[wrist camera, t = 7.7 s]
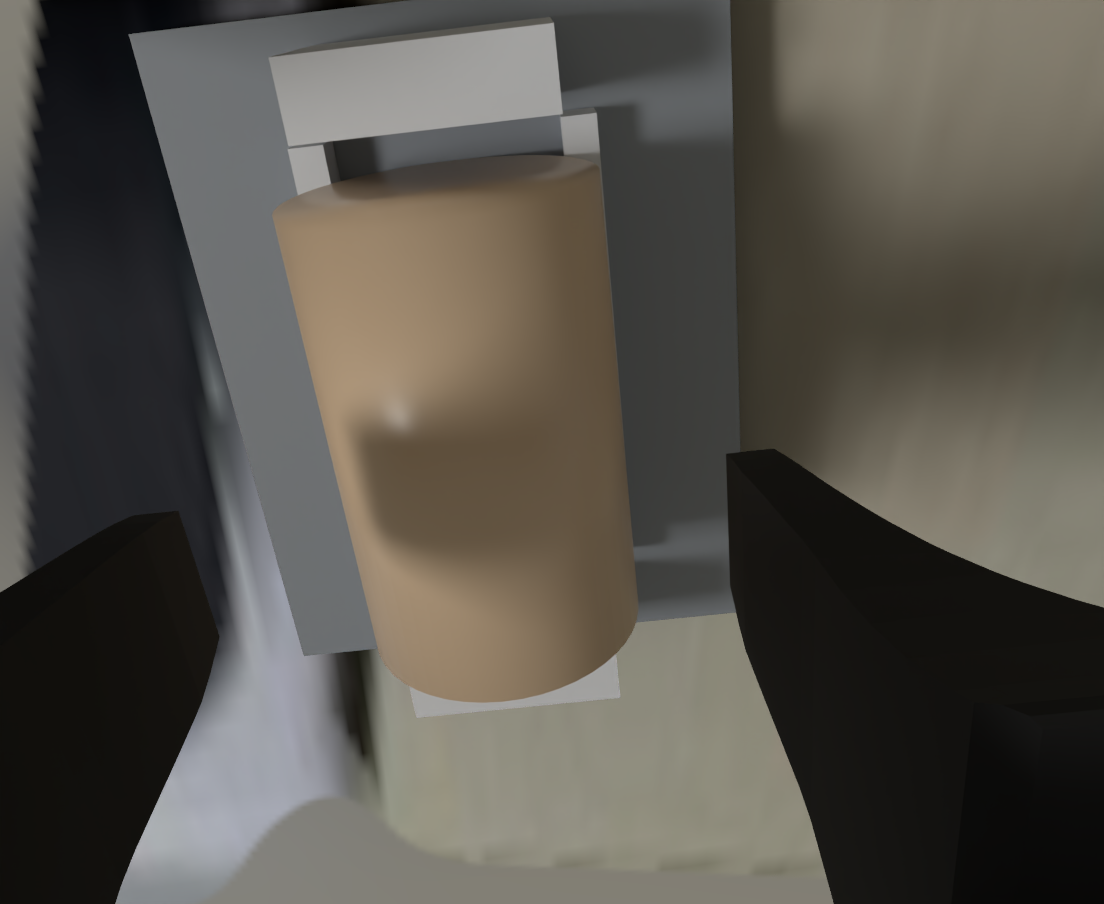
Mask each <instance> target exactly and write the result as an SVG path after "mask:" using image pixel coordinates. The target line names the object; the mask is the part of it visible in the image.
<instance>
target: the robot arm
mask: <svg viewBox="0 0 1104 904" xmlns="http://www.w3.org/2000/svg"><path fill="white" fill-rule="evenodd" d="M726 472H727V504H728V537H729V570H730V588H731V592H732V597H733V601H734V605H735V609H736V614H737V618H738V622H739V626H740V630H741V634H742V638H743V642H744V646H745V649H746V652H747V655H748V657H749V660H750V663H751V665H752V668H753V670H754V673H755V676H756V678H757V681H758V683H759V686H760V688H761V691H762V694H763V696H764V699H765V701H766V704H767V706H768V709H769V711H770V714H771V716H772V719H773V721H774V724H775V726H776V729H777V731H778V734H779V736H780V739H781V741H782V744H783V747H784V749H785V752H786V754H787V757H788V759H789V762H790V764H791V767H792V769H793V772H794V774H795V777H796V779H797V782H798V784H799V787H800V790H801V793H802V796H803V798H804V801H805V804H806V807H807V810H808V813H809V816H810V819H811V822H812V826H813V829H814V833H815V837H816V840H817V844H818V847H819V851H820V855H821V858H822V862H823V866H824V869H825V873H826V877H827V880H828V884H829V887H830V891H831V895H832V899H833V902H834V904H1104V608H1103V607H1099V606H1096V605H1092V604H1089V603H1085V602H1082V601H1078V600H1075V599H1072V598H1069V597H1066V596H1063V595H1060V594H1056V593H1053V592H1050V591H1047V590H1044V589H1041V588H1038V587H1035V586H1032V585H1029V584H1026V583H1023V582H1020V581H1018V580H1015V579H1012V578H1009V577H1007V576H1004V575H1001V574H999V573H996V572H994V571H991V570H989V569H987V568H984V567H982V566H979V565H977V564H975V563H972V562H970V561H968V560H965V559H963V558H961V557H958V556H956V555H954V554H951V553H949V552H947V551H945V550H943V549H941V548H938V547H936V546H934V545H932V544H930V543H928V542H926V541H924V540H922V539H920V538H918V537H917V536H915V535H913V534H911V533H909V532H907V531H905V530H904V529H902V528H900V527H898V526H896V525H894V524H892V523H890V522H889V521H887V520H885V519H883V518H882V517H880V516H878V515H877V514H875V513H873V512H871V511H870V510H868V509H866V508H865V507H863V506H861V505H860V504H858V503H857V502H855V501H853V500H852V499H850V498H849V497H847V496H845V495H844V494H842V493H841V492H839V491H838V490H836V489H835V488H833V487H832V486H830V485H828V484H827V483H825V482H824V481H822V480H821V479H819V478H818V477H816V476H815V475H814V474H812V473H811V472H809V471H808V470H806V469H805V468H803V467H802V466H800V465H799V464H797V463H796V462H794V461H793V460H791V459H790V458H788V457H787V456H785V455H783V454H782V453H780V452H778V451H777V450H775V449H766V450H756V451H747V452H737V453H728V454H726ZM218 641H219V634H218V631H217V628H216V625H215V622H214V618H213V615H212V612H211V609H210V606H209V603H208V600H207V597H206V594H205V591H204V588H203V585H202V582H201V579H200V576H199V573H198V570H197V567H196V564H195V561H194V557H193V554H192V551H191V548H190V545H189V542H188V539H187V536H186V533H185V530H184V527H183V524H182V521H181V518H180V515H179V512H178V511H172V512H163V513H153V514H143V515H134V516H131V517H129V518H126V519H124V520H122V521H120V522H118V523H116V524H114V525H112V526H110V527H108V528H106V529H104V530H102V531H101V532H99V533H97V534H95V535H94V536H92V537H90V538H88V539H87V540H85V541H83V542H82V543H80V544H78V545H77V546H75V547H73V548H72V549H70V550H68V551H67V552H65V553H64V554H62V555H60V556H59V557H57V558H55V559H54V560H52V561H51V562H49V563H47V564H46V565H44V566H42V567H41V568H39V569H38V570H36V571H34V572H33V573H31V574H30V575H28V576H26V577H25V578H23V579H21V580H20V581H18V582H17V583H15V584H13V585H12V586H10V587H9V588H7V589H6V590H4V591H2V592H0V904H115V902H116V899H117V896H118V893H119V890H120V887H121V884H122V882H123V879H124V877H125V874H126V872H127V869H128V867H129V864H130V862H131V859H132V857H133V854H134V852H135V849H136V847H137V845H138V843H139V840H140V838H141V836H142V834H143V832H144V830H145V827H146V825H147V823H148V821H149V819H150V816H151V814H152V812H153V810H154V808H155V805H156V803H157V801H158V799H159V797H160V794H161V792H162V790H163V788H164V786H165V783H166V781H167V779H168V777H169V775H170V773H171V770H172V768H173V766H174V764H175V762H176V759H177V757H178V755H179V753H180V751H181V748H182V746H183V744H184V742H185V739H186V737H187V735H188V732H189V730H190V728H191V726H192V723H193V721H194V719H195V717H196V714H197V712H198V709H199V707H200V705H201V702H202V699H203V696H204V693H205V689H206V686H207V682H208V679H209V676H210V672H211V668H212V664H213V660H214V657H215V653H216V649H217V645H218Z"/></svg>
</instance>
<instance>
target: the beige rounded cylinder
mask: <svg viewBox="0 0 1104 904" xmlns="http://www.w3.org/2000/svg"><path fill="white" fill-rule="evenodd" d="M272 217H273V221H274V225H275V229H276V233H277V238H278V242H279V246H280V250H281V254H282V258H283V262H284V266H285V270H286V274H287V278H288V283H289V287H290V291H291V295H292V299H293V303H294V307H295V311H296V315H297V319H298V324H299V328H300V332H301V336H302V340H303V344H304V348H305V352H306V356H307V360H308V364H309V369H310V373H311V377H312V381H313V385H314V389H315V393H316V397H317V401H318V405H319V410H320V414H321V418H322V422H323V426H324V430H325V434H326V438H327V442H328V446H329V451H330V455H331V459H332V463H333V467H334V471H335V475H336V479H337V483H338V487H339V491H340V496H341V500H342V504H343V508H344V512H345V516H346V520H347V524H348V528H349V532H350V537H351V541H352V545H353V549H354V553H355V557H356V561H357V565H358V569H359V573H360V578H361V582H362V586H363V590H364V594H365V598H366V602H367V606H368V610H369V614H370V618H371V623H372V627H373V631H374V635H375V639H376V643H377V647H378V650H379V654H380V657H381V658H382V660H383V662H384V664H385V666H386V667H387V668H388V669H389V670H390V671H391V673H392V674H393V675H394V676H396V677H397V678H398V679H399V680H401V681H402V682H403V683H405V684H407V685H408V686H410V687H412V688H414V689H416V690H418V691H421V692H423V693H426V694H428V695H431V696H435V697H439V698H443V699H447V700H454V701H461V702H476V703H489V702H505V701H512V700H519V699H524V698H529V697H533V696H537V695H542V694H545V693H548V692H551V691H554V690H557V689H560V688H562V687H564V686H567V685H569V684H571V683H574V682H576V681H578V680H580V679H581V678H583V677H585V676H587V675H589V674H590V673H592V672H594V671H595V670H596V669H598V668H599V667H601V666H602V665H604V664H605V663H606V662H607V661H608V660H609V659H611V658H612V657H613V656H614V655H615V654H616V653H617V652H618V651H619V650H620V649H621V647H622V646H623V645H624V644H625V643H626V641H627V639H628V638H629V636H630V635H631V633H632V631H633V629H634V626H635V623H636V621H637V615H638V594H637V583H636V572H635V561H634V549H633V538H632V527H631V516H630V505H629V493H628V482H627V471H626V460H625V448H624V437H623V426H622V415H621V404H620V392H619V381H618V370H617V359H616V347H615V336H614V325H613V314H612V303H611V291H610V280H609V269H608V258H607V246H606V235H605V224H604V213H603V202H602V190H601V179H600V168H599V167H598V166H597V165H596V164H595V163H593V162H591V161H588V160H585V159H580V158H574V157H566V156H553V155H514V156H495V157H481V158H470V159H461V160H452V161H444V162H436V163H429V164H423V165H416V166H410V167H404V168H398V169H393V170H388V171H383V172H378V173H373V174H368V175H364V176H360V177H355V178H351V179H347V180H343V181H340V182H336V183H332V184H329V185H326V186H323V187H319V188H316V189H313V190H311V191H308V192H305V193H302V194H300V195H298V196H295V197H293V198H291V199H289V200H287V201H285V202H283V203H282V204H281V205H279V206H278V207H277V208H276V209H275V210H274V211H273V214H272Z"/></svg>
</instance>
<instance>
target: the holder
mask: <svg viewBox="0 0 1104 904" xmlns="http://www.w3.org/2000/svg"><path fill="white" fill-rule="evenodd" d="M129 37H130V41H131V44H132V48H133V51H134V55H135V59H136V62H137V66H138V69H139V73H140V76H141V80H142V83H143V87H144V90H145V94H146V98H147V101H148V105H149V108H150V112H151V115H152V119H153V122H154V126H155V129H156V133H157V137H158V140H159V144H160V147H161V151H162V154H163V158H164V161H165V165H166V169H167V172H168V176H169V179H170V183H171V186H172V190H173V193H174V197H175V200H176V204H177V208H178V211H179V215H180V218H181V222H182V225H183V229H184V232H185V236H186V239H187V243H188V247H189V250H190V254H191V257H192V261H193V264H194V268H195V271H196V275H197V278H198V282H199V286H200V289H201V293H202V296H203V300H204V303H205V307H206V310H207V314H208V318H209V321H210V325H211V328H212V332H213V335H214V339H215V342H216V346H217V349H218V353H219V357H220V360H221V364H222V367H223V371H224V374H225V378H226V381H227V385H228V388H229V392H230V396H231V399H232V403H233V406H234V410H235V413H236V417H237V420H238V424H239V428H240V431H241V435H242V438H243V442H244V445H245V449H246V452H247V456H248V459H249V463H250V467H251V470H252V474H253V477H254V481H255V484H256V488H257V491H258V495H259V498H260V502H261V506H262V509H263V513H264V516H265V520H266V523H267V527H268V530H269V534H270V537H271V541H272V545H273V548H274V552H275V555H276V559H277V562H278V566H279V569H280V573H281V577H282V580H283V584H284V587H285V591H286V594H287V598H288V601H289V605H290V608H291V612H292V616H293V619H294V623H295V626H296V630H297V633H298V637H299V640H300V644H301V647H302V651H303V655H304V656H308V655H318V654H328V653H338V652H348V651H358V650H367V649H377V648H378V647H377V643H376V639H375V635H374V631H373V627H372V623H371V618H370V614H369V610H368V606H367V602H366V598H365V594H364V590H363V586H362V582H361V578H360V573H359V569H358V565H357V561H356V557H355V553H354V549H353V545H352V541H351V537H350V532H349V528H348V524H347V520H346V516H345V512H344V508H343V504H342V500H341V496H340V491H339V487H338V483H337V479H336V475H335V471H334V467H333V463H332V459H331V455H330V451H329V446H328V442H327V438H326V434H325V430H324V426H323V422H322V418H321V414H320V410H319V405H318V401H317V397H316V393H315V389H314V385H313V381H312V377H311V373H310V369H309V364H308V360H307V356H306V352H305V348H304V344H303V340H302V336H301V332H300V328H299V324H298V319H297V315H296V311H295V307H294V303H293V299H292V295H291V291H290V287H289V283H288V278H287V274H286V270H285V266H284V262H283V258H282V254H281V250H280V246H279V242H278V238H277V233H276V229H275V225H274V221H273V217H272V214H273V211H274V210H275V209H276V208H277V207H278V206H279V205H281V204H282V203H283V202H285V201H287V200H289V199H291V198H293V197H295V196H298V195H300V194H302V193H305V192H308V191H311V190H313V189H316V188H319V187H323V186H326V185H329V184H332V183H336V182H340V181H343V180H347V179H351V178H355V177H360V176H364V175H368V174H373V173H378V172H383V171H388V170H393V169H398V168H404V167H410V166H416V165H423V164H429V163H436V162H444V161H452V160H461V159H470V158H481V157H495V156H514V155H553V156H566V157H574V158H580V159H585V160H588V161H591V162H593V163H595V164H596V165H597V166H598V167H599V168H600V179H601V190H602V202H603V213H604V224H605V235H606V246H607V258H608V269H609V280H610V291H611V303H612V314H613V325H614V336H615V347H616V359H617V370H618V381H619V392H620V404H621V415H622V426H623V437H624V448H625V460H626V471H627V482H628V493H629V505H630V516H631V527H632V538H633V549H634V561H635V572H636V583H637V594H638V615H637V621H636V622H645V621H655V620H665V619H674V618H684V617H694V616H704V615H714V614H724V613H734V612H736V609H735V605H734V601H733V597H732V592H731V588H730V570H729V537H728V504H727V472H726V454H728V453H737V452H740V410H739V367H738V323H737V280H736V236H735V193H734V149H733V106H732V62H731V18H730V0H407V1H399V2H391V3H382V4H374V5H366V6H358V7H350V8H341V9H333V10H325V11H317V12H309V13H300V14H292V15H284V16H276V17H268V18H259V19H251V20H243V21H235V22H226V23H218V24H210V25H202V26H194V27H185V28H177V29H169V30H161V31H153V32H144V33H136V34H129ZM409 687H410V686H409ZM410 691H411V696H412V700H413V705H414V709H415V714H416V718H419V717H430V716H440V715H450V714H460V713H470V712H480V711H490V710H501V709H511V708H521V707H531V706H541V705H551V704H561V703H572V702H582V701H592V700H602V699H612V698H620V689H619V679H618V669H617V659H616V654H615V655H614V656H613V657H612V658H611V659H609V660H608V661H607V662H606V663H605V664H604V665H602V666H601V667H599V668H598V669H596V670H595V671H594V672H592V673H590V674H589V675H587V676H585V677H583V678H581V679H580V680H578V681H576V682H574V683H571V684H569V685H567V686H564V687H562V688H560V689H557V690H554V691H551V692H548V693H545V694H542V695H537V696H533V697H529V698H524V699H519V700H512V701H505V702H489V703H476V702H461V701H454V700H447V699H443V698H439V697H435V696H431V695H428V694H426V693H423V692H421V691H418V690H416V689H414V688H412V687H410Z"/></svg>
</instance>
